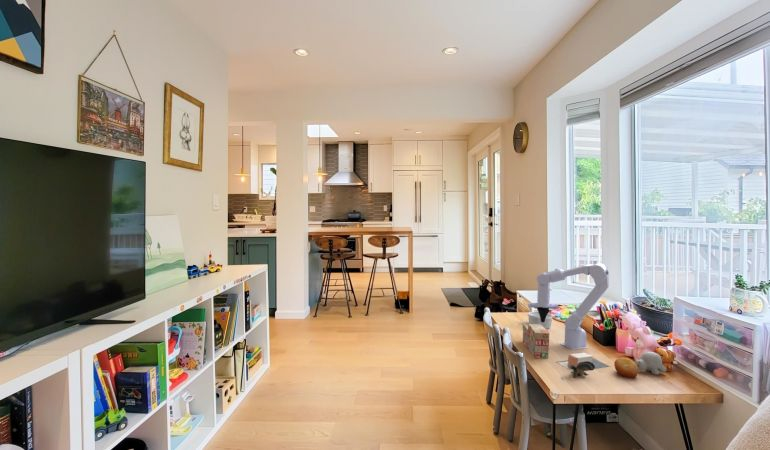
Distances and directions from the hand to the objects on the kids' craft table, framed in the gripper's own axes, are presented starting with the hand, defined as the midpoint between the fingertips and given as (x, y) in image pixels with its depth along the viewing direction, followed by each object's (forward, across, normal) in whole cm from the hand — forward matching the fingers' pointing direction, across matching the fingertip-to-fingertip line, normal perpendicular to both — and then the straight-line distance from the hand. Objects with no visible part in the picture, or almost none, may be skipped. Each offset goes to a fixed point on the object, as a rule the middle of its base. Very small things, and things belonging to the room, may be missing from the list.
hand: (542, 321), depth 183 cm
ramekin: (+10, +5, +24) cm, 26 cm away
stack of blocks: (+10, -8, -16) cm, 20 cm away
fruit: (+10, +23, -37) cm, 44 cm away
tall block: (+7, +12, -28) cm, 31 cm away
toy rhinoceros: (+10, +33, -32) cm, 47 cm away
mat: (+9, +9, -30) cm, 32 cm away
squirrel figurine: (+10, +4, -42) cm, 43 cm away
